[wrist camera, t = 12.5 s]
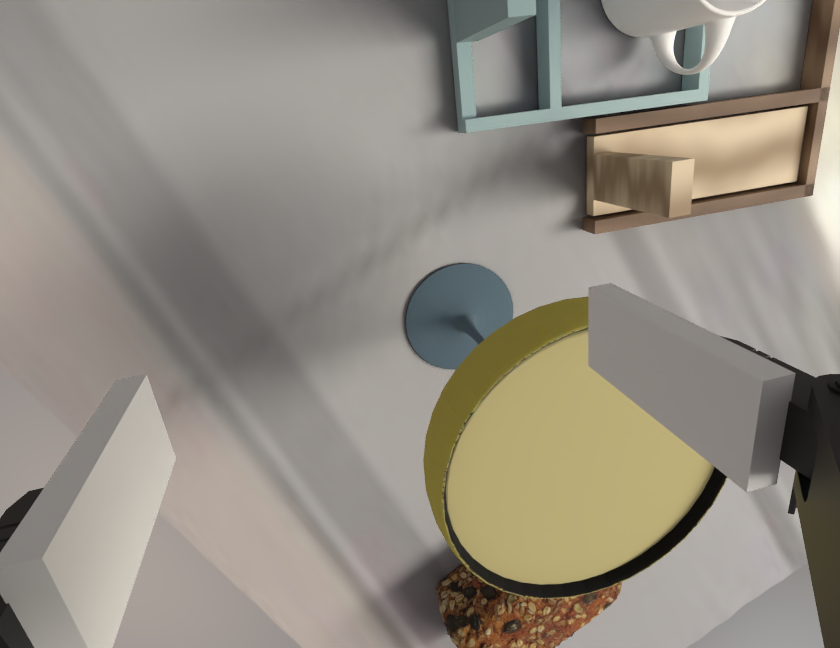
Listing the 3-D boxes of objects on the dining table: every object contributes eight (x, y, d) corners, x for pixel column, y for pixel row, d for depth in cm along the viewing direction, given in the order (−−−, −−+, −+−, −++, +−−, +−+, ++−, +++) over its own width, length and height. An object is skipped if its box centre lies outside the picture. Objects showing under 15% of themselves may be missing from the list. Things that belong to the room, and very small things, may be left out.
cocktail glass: (393, 203, 46) (498, 280, 23) (571, 247, 51) (799, 344, 28) (348, 388, 51) (397, 602, 28) (514, 410, 56) (668, 604, 33)
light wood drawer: (586, 136, 47) (673, 139, 37) (796, 106, 51) (930, 101, 40) (586, 214, 50) (667, 237, 39) (786, 180, 54) (909, 193, 43)
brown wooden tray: (582, -149, 40) (598, -164, 38) (845, -160, 44) (872, -173, 42) (582, 229, 51) (594, 234, 49) (793, 192, 55) (812, 195, 53)
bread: (471, 625, 66) (500, 705, 57) (427, 580, 62) (450, 658, 53) (592, 540, 66) (641, 607, 57) (556, 489, 62) (602, 552, 53)
